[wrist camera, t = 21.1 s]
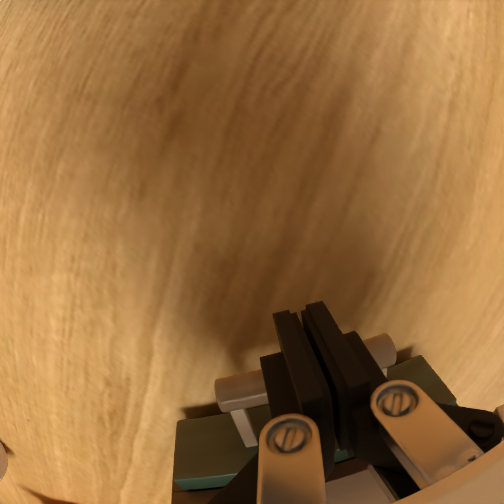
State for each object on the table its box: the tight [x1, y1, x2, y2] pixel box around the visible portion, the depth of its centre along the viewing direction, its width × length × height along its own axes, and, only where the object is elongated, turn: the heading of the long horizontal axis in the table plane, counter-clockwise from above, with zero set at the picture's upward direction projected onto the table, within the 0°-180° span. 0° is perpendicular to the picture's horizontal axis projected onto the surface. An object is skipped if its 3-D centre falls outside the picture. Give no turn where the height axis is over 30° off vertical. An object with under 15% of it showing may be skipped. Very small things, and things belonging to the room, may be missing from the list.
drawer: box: [174, 333, 456, 490], centre depth 15 cm, size 20×14×4 cm
